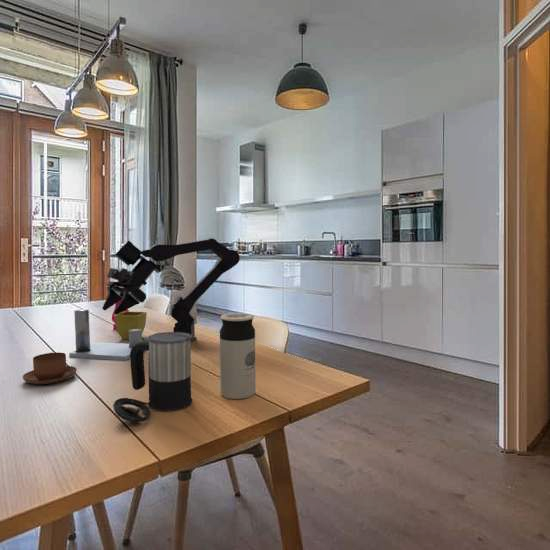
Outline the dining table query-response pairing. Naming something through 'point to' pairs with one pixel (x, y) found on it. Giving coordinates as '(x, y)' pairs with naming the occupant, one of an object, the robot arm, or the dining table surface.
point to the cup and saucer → (49, 369)
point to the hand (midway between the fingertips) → (109, 311)
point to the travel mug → (237, 356)
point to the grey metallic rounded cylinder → (82, 330)
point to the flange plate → (111, 348)
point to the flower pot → (129, 322)
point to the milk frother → (160, 375)
